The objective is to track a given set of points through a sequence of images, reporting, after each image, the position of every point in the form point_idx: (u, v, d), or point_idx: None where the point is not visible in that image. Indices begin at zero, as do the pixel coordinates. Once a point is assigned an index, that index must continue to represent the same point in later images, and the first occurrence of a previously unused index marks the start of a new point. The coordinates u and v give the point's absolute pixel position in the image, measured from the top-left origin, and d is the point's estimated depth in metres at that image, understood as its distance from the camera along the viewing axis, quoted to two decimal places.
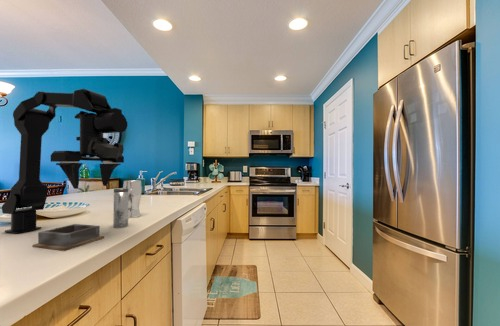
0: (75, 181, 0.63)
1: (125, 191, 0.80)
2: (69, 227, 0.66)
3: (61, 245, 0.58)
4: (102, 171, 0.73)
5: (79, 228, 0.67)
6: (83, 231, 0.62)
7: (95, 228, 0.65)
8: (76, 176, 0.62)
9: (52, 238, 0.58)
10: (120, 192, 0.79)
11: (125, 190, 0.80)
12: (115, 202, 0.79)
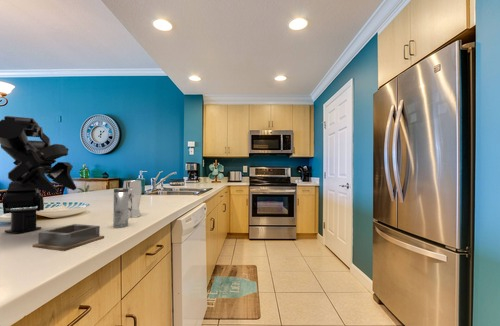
0: (50, 186, 0.64)
1: (125, 191, 0.80)
2: (69, 227, 0.66)
3: (61, 245, 0.58)
4: (61, 182, 0.74)
5: (79, 228, 0.67)
6: (83, 231, 0.62)
7: (95, 228, 0.65)
8: (48, 181, 0.64)
9: (52, 238, 0.58)
10: (120, 192, 0.79)
11: (125, 190, 0.80)
12: (115, 202, 0.79)
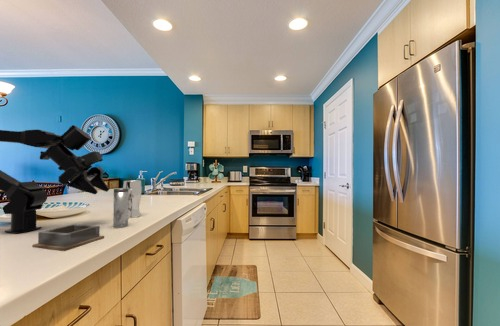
0: (92, 187, 0.75)
1: (125, 191, 0.80)
2: (69, 227, 0.66)
3: (61, 245, 0.58)
4: (95, 184, 0.84)
5: (79, 228, 0.67)
6: (83, 231, 0.62)
7: (95, 228, 0.65)
8: (90, 183, 0.74)
9: (52, 238, 0.58)
10: (120, 192, 0.79)
11: (125, 190, 0.80)
12: (115, 202, 0.79)
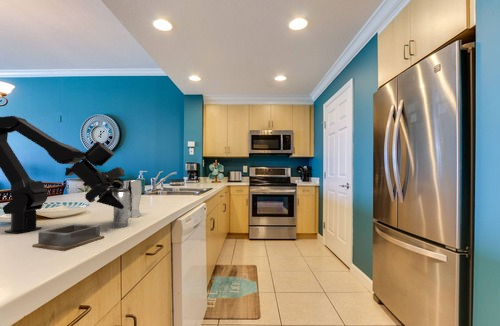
0: (119, 203, 0.78)
1: (125, 191, 0.80)
2: (69, 227, 0.66)
3: (61, 245, 0.58)
4: None
5: (79, 228, 0.67)
6: (83, 231, 0.62)
7: (95, 228, 0.65)
8: (117, 199, 0.78)
9: (52, 238, 0.58)
10: (120, 192, 0.79)
11: (125, 190, 0.80)
12: None
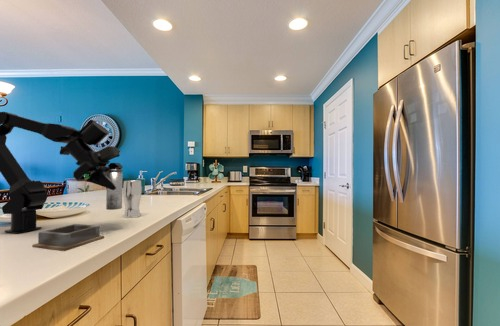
0: (110, 183, 0.74)
1: (117, 171, 0.76)
2: (69, 227, 0.66)
3: (61, 245, 0.58)
4: None
5: (79, 228, 0.67)
6: (83, 231, 0.62)
7: (95, 228, 0.65)
8: (108, 179, 0.74)
9: (52, 238, 0.58)
10: (112, 172, 0.75)
11: (118, 170, 0.76)
12: None
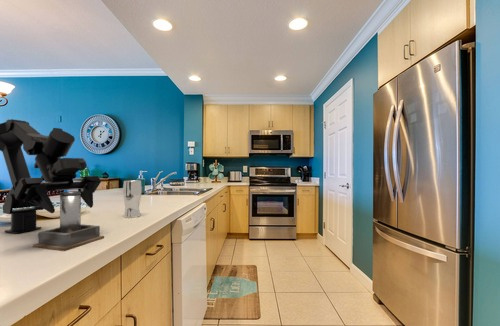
0: (48, 204, 0.58)
1: (68, 195, 0.61)
2: None
3: (61, 245, 0.58)
4: (84, 198, 0.69)
5: None
6: (83, 231, 0.62)
7: (95, 228, 0.65)
8: (46, 199, 0.59)
9: (52, 238, 0.58)
10: (62, 196, 0.61)
11: (68, 194, 0.61)
12: (60, 208, 0.62)
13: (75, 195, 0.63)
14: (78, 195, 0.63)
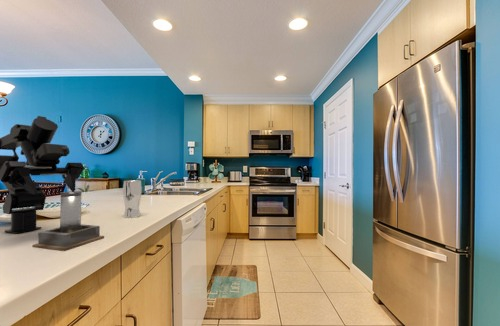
0: (31, 186, 0.62)
1: (68, 195, 0.61)
2: None
3: (61, 245, 0.58)
4: (67, 182, 0.73)
5: None
6: (83, 231, 0.62)
7: (95, 228, 0.65)
8: (29, 181, 0.63)
9: (52, 238, 0.58)
10: (62, 197, 0.61)
11: (69, 194, 0.61)
12: (60, 208, 0.62)
13: (76, 195, 0.62)
14: (79, 195, 0.63)
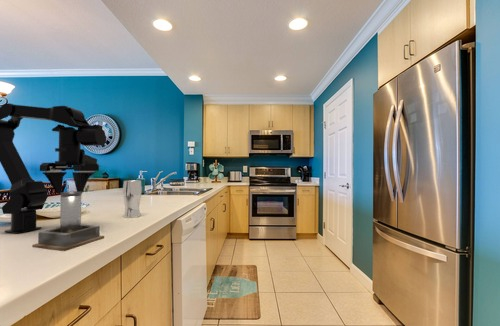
0: (83, 187, 0.75)
1: (68, 195, 0.61)
2: None
3: (61, 245, 0.58)
4: (54, 179, 0.76)
5: None
6: (83, 231, 0.62)
7: (95, 228, 0.65)
8: None
9: (52, 238, 0.58)
10: (62, 197, 0.61)
11: (69, 194, 0.61)
12: (60, 208, 0.62)
13: (76, 195, 0.62)
14: (79, 195, 0.63)
